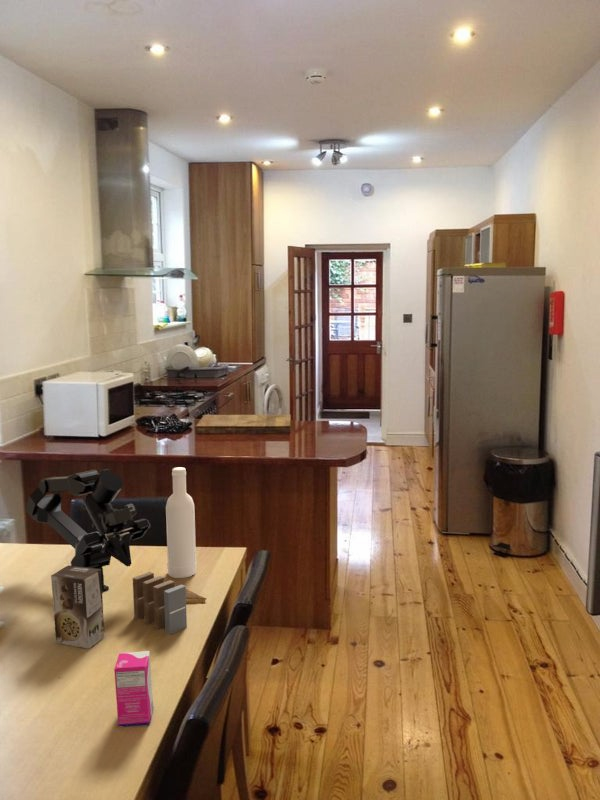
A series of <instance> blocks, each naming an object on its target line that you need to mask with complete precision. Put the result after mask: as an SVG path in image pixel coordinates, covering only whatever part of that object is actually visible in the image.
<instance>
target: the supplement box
mask: <svg viewBox="0 0 600 800" xmlns="http://www.w3.org/2000/svg"><path fill="white" fill-rule="evenodd" d="M151 666H152V665H151V652H150V650H144V651H143V650H142V651H133V652H131V651H130V652H119V654H118V656H117V659H116V662H115V666H114V669H113V671H114V683H115V696H116V710H117V711H116V713H117V724H118V725H117V726H118V727H119V726H124V727H136V726H135V725H140V726H149V725H151V721H152V716H153V714H154V713H153V712H154V698H153V683H152V682H153V681H152V669H151V668H152V667H151Z"/></svg>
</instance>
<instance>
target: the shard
mask: <svg viewBox="0 0 600 800" xmlns="http://www.w3.org/2000/svg"><path fill="white" fill-rule="evenodd" d="M206 600H207V598H206V597H204V596H202V595H199V594H197V593H195V592H194V591H191V590H189V589H186V604H189V603H191V604H192V603H194V604H195V603H197V604H198V603H205V602H206Z"/></svg>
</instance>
